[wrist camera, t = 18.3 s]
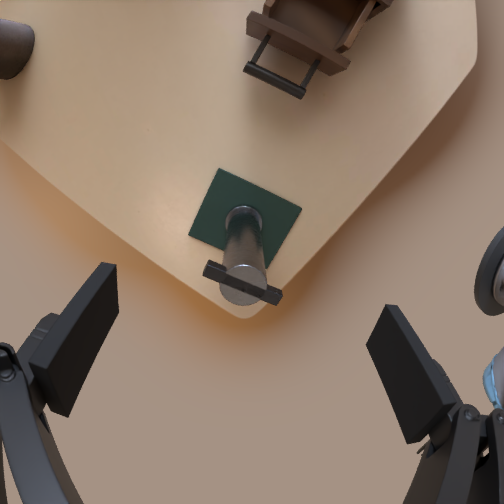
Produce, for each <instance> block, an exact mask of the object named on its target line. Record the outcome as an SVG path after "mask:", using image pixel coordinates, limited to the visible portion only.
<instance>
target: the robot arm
mask: <svg viewBox="0 0 504 504" xmlns="http://www.w3.org/2000/svg"><path fill="white" fill-rule="evenodd" d="M491 290H492V296H493V298H494V299H495V300H496V301H497V302H498V303H499V304H501V305H502V306H504V254H503V256H502V258H501V259H500V261H499V263H498V265H497V267H496V270H495V273H494V276H493V280H492V287H491ZM118 313H119V306H118V291H117V269H116V265H115V264H110V263H104V262H101V264H100V265H99V266H98V267H97V268H96V269H95V271H94V272H93V273H92V274H91V276H90V277H89V278H88V279H87V281H86V282H85V283H84V284H83V285H82V287H81V288H80V289H79V291H78V292H77V293H76V294H75V296H74V297H73V298H72V300H71V301H70V302H69V304H68V305H67V306H66V308H65V309H64V310H63V312H62V313H61V314H60V315H57V314H54V313H50V314H48V315H47V316H45V317H44V318H42V319H41V320H40V322H39V323H38V324H37V325H36V327H35V329H33V331H32V332H31V334H30V336H28V338H27V339H26V340H25V342H24V343H23V345H22V346H21V347H20V349H19V350H18V352H17V353H15V351H14V349H13V347H12V346H11V345H9V344H7V343H3V342H2V343H0V504H8V503H7V496H6V489H5V481H4V470H3V453H2V441H3V444H4V448H5V452H6V456H7V459H8V462H9V466H10V469H11V472H12V475H13V478H14V481H15V484H16V487H17V489H18V492H19V495H20V497H21V500H22V502H23V504H84V503H83V501H82V500H81V498H80V496H79V494H78V492H77V490H76V488H75V486H74V484H73V482H72V480H71V478H70V476H69V474H68V472H67V469H66V467H65V465H64V463H63V461H62V458H61V456H60V453H59V451H58V448H57V446H56V443H55V441H54V438H53V436H52V433H51V430H50V427H49V424H48V422H47V419H46V416H45V413H44V411H43V409H44V407H45V405H46V403H47V404H48V406H49V408H50V410H51V411H52V412H54V413H57V414H60V415H62V416H65V417H67V418H68V417H69V415H70V412H71V410H72V408H73V406H74V403H75V401H76V399H77V396H78V394H79V392H80V390H81V388H82V385H83V383H84V381H85V379H86V377H87V375H88V373H89V370H90V368H91V366H92V364H93V362H94V360H95V358H96V356H97V353H98V352H99V350H100V348H101V346H102V344H103V342H104V340H105V338H106V336H107V334H108V332H109V330H110V329H111V326H112V325H113V323H114V321H115V319H116V317H117V315H118ZM366 347H367V349H368V351H369V353H370V355H371V358H372V360H373V362H374V365H375V367H376V369H377V371H378V374H379V376H380V378H381V381H382V383H383V385H384V388H385V390H386V393H387V395H388V397H389V400H390V402H391V405H392V407H393V410H394V412H395V414H396V417H397V420H398V422H399V425H400V427H401V430H402V433H403V435H404V438H405V440H406V443H407V444H411V443H416V442H420V441H421V440H422V439H423V438H424V437H425V436H426V435H427V434H429V437H430V440H429V441H428V442H426V443H425V444H424V445H423V446H422V447H421V448H420V449H419V450H418V452H417V454H419V453H420V452H421V451H422V450H424V452H423V454H422V455H421V456H422V457H421V460H420V463H419V466H418V468H417V471H416V474H415V476H414V478H413V481H412V483H411V486H410V488H409V490H408V493H407V495H406V497H405V499H404V502H403V504H504V347H503V348H502V350H501V351H500V352H499V353H498V354H496V355H495V356H494V358H493V360H492V361H491V363H490V364H489V365H488V366H487V367H486V369H485V371H484V374H483V385H484V389H485V391H486V394H487V396H488V398H489V400H490V402H491V403H493V406H494V408H495V409H494V410H493V411H492V412H491V413H490V414H489V416H488V415H480V413H479V411H478V410H477V409H476V408H475V407H474V406H472V405H469V404H463V402H462V400H461V399H460V397H459V395H458V393H457V392H456V390H455V388H454V387H453V385H452V383H451V382H450V380H449V378H448V376H446V373H445V371H444V370H443V368H442V366H441V365H440V364H439V363H438V362H437V361H435V360H434V359H432V358H431V356H430V355H429V353H428V352H427V350H426V348H425V347H424V345H423V344H422V342H421V341H420V339H419V337H418V336H417V334H416V333H415V331H414V330H413V328H412V326H411V325H410V323H409V322H408V320H407V319H406V317H405V316H404V314H403V313H402V312H401V310H400V309H399V307H398V306H397V305H388V304H386V305H385V307H384V309H383V311H382V313H381V315H380V318H379V319H378V321H377V323H376V325H375V328H374V330H373V331H372V333H371V336H370V337H369V339H368V342H367V343H366ZM488 447H489V453H488V454H487V455H486V456H483V452H484V451H485V450H486V449H487V448H488Z"/></svg>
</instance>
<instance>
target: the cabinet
mask: <svg viewBox="0 0 504 504" xmlns="http://www.w3.org/2000/svg"><path fill="white" fill-rule="evenodd" d="M376 1H377V2H376V3H375V5H374V7H373V9H372V10H371V12H370V14H369V16H368V17H367V19H366V21H365V22H367V21H368V20H369V19H371V18H372V17H374V16H376V15H377V14H379V13H380V12H382V11H383V10H385V9H386V8H388V7H389V6H390V5H391V3H392V1H393V0H376Z"/></svg>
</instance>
